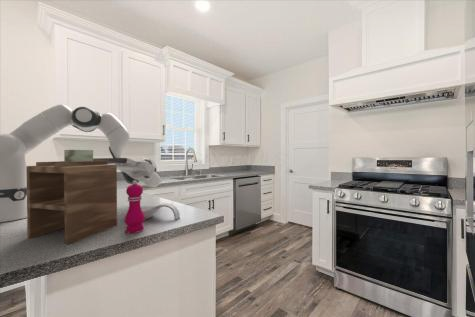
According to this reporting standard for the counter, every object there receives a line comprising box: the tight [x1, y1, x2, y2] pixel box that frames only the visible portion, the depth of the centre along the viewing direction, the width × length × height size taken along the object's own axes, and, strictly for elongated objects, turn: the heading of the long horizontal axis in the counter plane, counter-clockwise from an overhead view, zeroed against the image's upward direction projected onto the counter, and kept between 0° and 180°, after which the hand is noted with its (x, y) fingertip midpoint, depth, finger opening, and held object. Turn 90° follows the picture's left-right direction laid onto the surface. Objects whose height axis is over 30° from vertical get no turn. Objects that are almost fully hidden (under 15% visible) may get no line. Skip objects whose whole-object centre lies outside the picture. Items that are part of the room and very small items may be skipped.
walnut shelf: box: [26, 160, 118, 245], centre depth 84 cm, size 20×20×28 cm
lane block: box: [63, 149, 127, 165], centre depth 95 cm, size 6×26×6 cm, turn 164°
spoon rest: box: [141, 202, 181, 221], centre depth 103 cm, size 24×12×7 cm, turn 85°
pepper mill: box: [124, 180, 146, 234], centre depth 86 cm, size 7×7×20 cm
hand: (123, 159), depth 107 cm, fingers open, 3 cm apart
